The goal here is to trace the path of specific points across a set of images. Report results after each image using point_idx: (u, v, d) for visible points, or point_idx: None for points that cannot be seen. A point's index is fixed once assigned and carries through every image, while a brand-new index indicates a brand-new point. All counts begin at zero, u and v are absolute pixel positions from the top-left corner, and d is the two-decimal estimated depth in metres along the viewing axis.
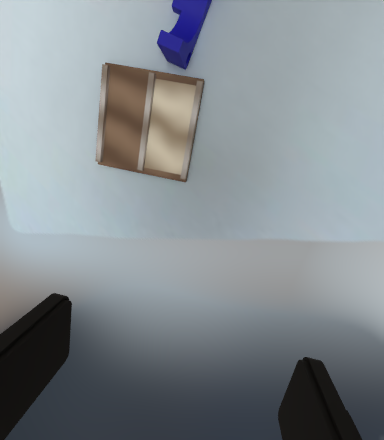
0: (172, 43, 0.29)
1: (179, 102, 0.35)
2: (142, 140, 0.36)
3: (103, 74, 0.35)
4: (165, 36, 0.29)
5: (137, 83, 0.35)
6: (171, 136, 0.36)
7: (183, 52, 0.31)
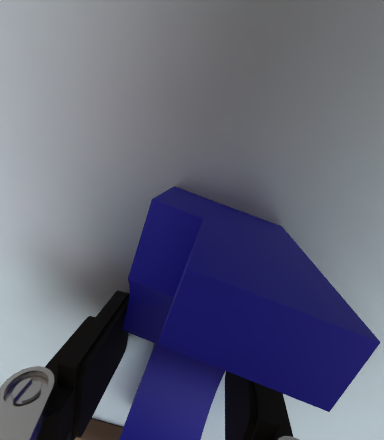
0: None
1: None
2: None
3: None
4: None
5: None
6: None
7: None
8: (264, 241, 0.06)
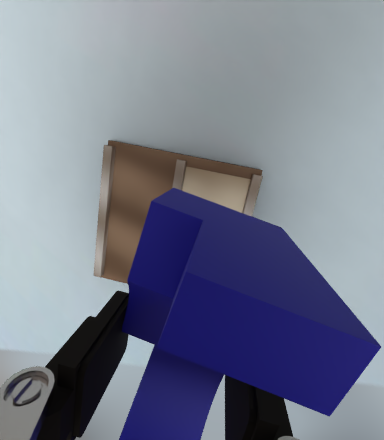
0: None
1: (222, 201, 0.23)
2: None
3: (105, 159, 0.22)
4: None
5: (157, 171, 0.23)
6: None
7: None
8: (264, 243, 0.06)
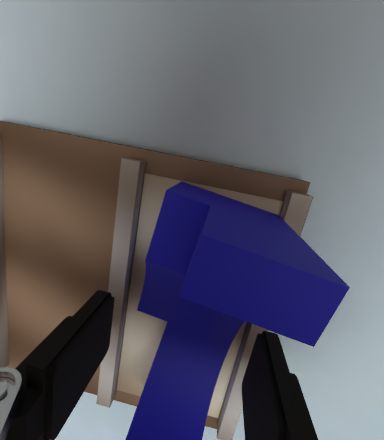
0: None
1: None
2: None
3: None
4: None
5: (88, 183, 0.11)
6: None
7: None
8: (262, 223, 0.07)
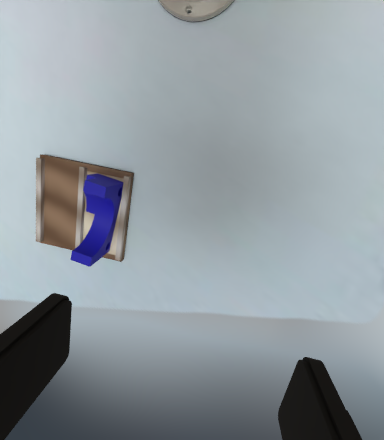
0: (83, 260, 0.34)
1: None
2: (77, 225, 0.38)
3: (37, 166, 0.37)
4: (76, 255, 0.34)
5: (70, 174, 0.37)
6: None
7: (97, 256, 0.35)
8: (108, 181, 0.33)
